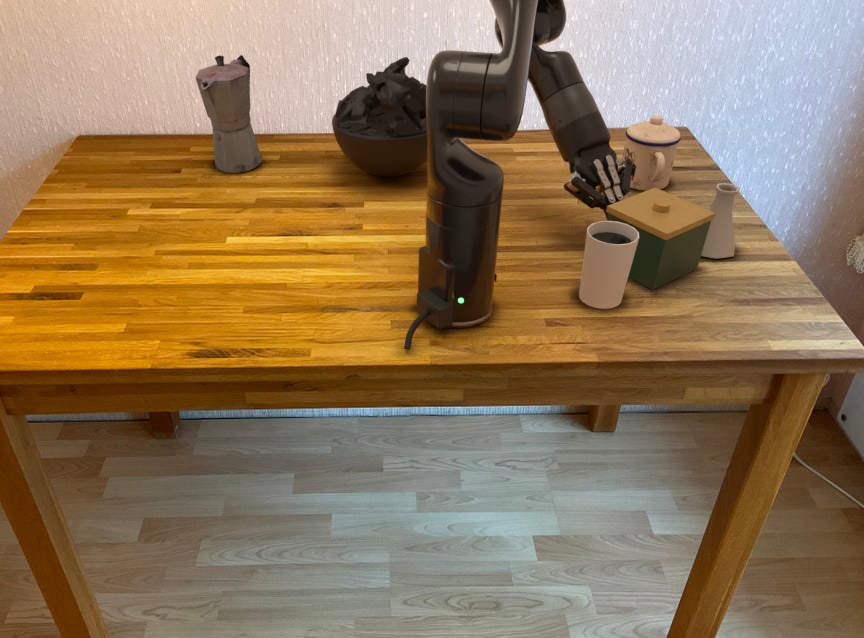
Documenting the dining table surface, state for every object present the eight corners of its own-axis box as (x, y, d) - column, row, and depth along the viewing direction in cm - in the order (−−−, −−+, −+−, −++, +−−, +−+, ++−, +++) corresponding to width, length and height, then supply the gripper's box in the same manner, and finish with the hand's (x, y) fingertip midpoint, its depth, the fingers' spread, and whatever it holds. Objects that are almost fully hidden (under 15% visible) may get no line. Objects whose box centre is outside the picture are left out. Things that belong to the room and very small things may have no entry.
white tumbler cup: (606, 280, 106) (619, 217, 99) (634, 304, 101) (650, 239, 94) (566, 290, 104) (576, 225, 98) (593, 314, 99) (606, 249, 93)
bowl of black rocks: (380, 205, 125) (379, 94, 114) (313, 169, 138) (305, 65, 126) (465, 174, 135) (471, 68, 124) (395, 143, 148) (395, 44, 136)
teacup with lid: (611, 171, 136) (623, 107, 129) (661, 171, 135) (676, 107, 128) (627, 199, 126) (641, 133, 119) (680, 199, 126) (697, 133, 119)
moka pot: (196, 176, 136) (176, 64, 124) (233, 145, 147) (219, 40, 135) (243, 182, 134) (228, 68, 121) (277, 150, 145) (266, 43, 133)
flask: (728, 237, 115) (746, 177, 109) (741, 261, 109) (761, 199, 103) (680, 236, 116) (696, 176, 110) (690, 259, 110) (708, 197, 104)
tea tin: (652, 291, 103) (669, 227, 97) (596, 261, 110) (608, 199, 104) (699, 269, 108) (717, 206, 102) (642, 241, 115) (656, 180, 108)
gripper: (558, 119, 104) (609, 231, 104) (622, 100, 110) (670, 206, 110) (528, 144, 111) (575, 248, 111) (589, 125, 117) (635, 224, 116)
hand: (622, 227), depth 110 cm, fingers closed
